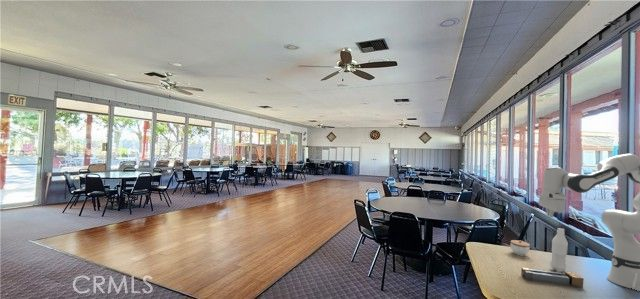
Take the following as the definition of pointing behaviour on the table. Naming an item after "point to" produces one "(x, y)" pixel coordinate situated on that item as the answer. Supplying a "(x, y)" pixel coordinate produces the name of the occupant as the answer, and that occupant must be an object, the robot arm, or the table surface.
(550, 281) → the tong base
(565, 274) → the tong arm
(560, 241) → the water bottle
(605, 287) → the table surface
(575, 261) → the table surface
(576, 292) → the table surface
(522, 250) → the lidded jar
